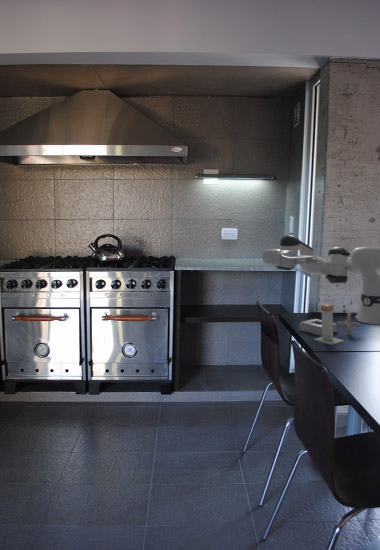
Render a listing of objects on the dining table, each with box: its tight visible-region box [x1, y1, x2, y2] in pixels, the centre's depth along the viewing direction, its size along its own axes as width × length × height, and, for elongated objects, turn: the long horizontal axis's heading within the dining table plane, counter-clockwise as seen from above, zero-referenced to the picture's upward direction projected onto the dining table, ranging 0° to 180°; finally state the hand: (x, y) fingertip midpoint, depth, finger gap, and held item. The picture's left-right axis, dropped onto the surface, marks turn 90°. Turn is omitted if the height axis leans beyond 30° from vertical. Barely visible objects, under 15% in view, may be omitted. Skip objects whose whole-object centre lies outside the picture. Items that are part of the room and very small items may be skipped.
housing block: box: [299, 318, 338, 337], centre depth 212 cm, size 12×12×4 cm
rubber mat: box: [313, 336, 345, 346], centre depth 196 cm, size 9×9×1 cm
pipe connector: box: [336, 312, 361, 336], centre depth 206 cm, size 10×10×10 cm
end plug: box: [320, 303, 335, 340], centre depth 195 cm, size 5×5×15 cm
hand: (311, 261), depth 217 cm, fingers open, 8 cm apart
